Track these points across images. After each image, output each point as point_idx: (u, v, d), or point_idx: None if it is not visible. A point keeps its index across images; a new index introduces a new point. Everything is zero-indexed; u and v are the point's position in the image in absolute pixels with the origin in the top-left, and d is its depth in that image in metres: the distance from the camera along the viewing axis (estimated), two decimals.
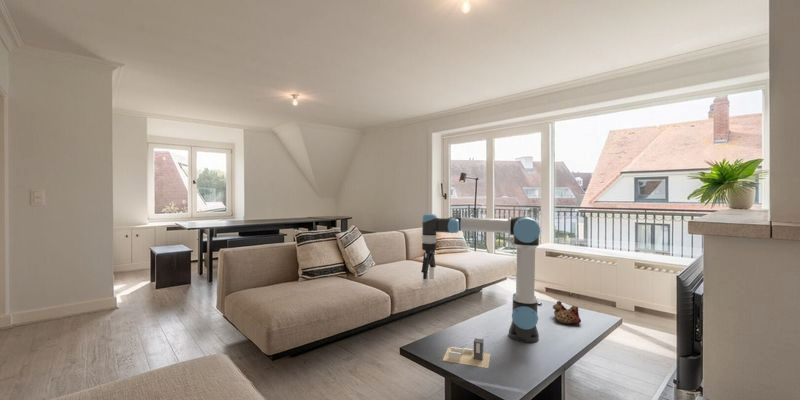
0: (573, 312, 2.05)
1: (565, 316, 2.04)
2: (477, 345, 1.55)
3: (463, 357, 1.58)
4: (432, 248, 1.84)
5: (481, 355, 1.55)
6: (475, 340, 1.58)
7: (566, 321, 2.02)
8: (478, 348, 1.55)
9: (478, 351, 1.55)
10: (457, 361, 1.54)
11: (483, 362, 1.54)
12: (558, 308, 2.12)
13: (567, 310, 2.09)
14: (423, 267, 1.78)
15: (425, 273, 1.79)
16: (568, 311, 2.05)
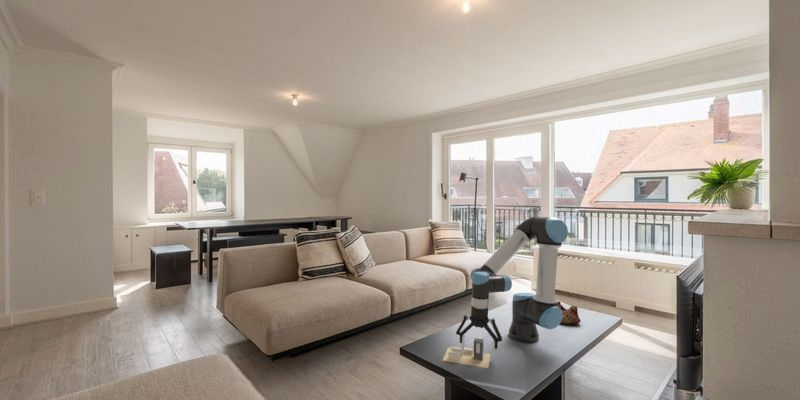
0: (572, 312, 2.05)
1: (565, 316, 2.04)
2: (477, 345, 1.55)
3: (463, 357, 1.58)
4: (472, 312, 1.56)
5: (481, 355, 1.55)
6: (475, 340, 1.58)
7: (566, 321, 2.02)
8: (478, 348, 1.55)
9: (478, 351, 1.55)
10: (457, 361, 1.54)
11: (483, 362, 1.54)
12: None
13: (566, 310, 2.09)
14: None
15: None
16: (568, 311, 2.05)
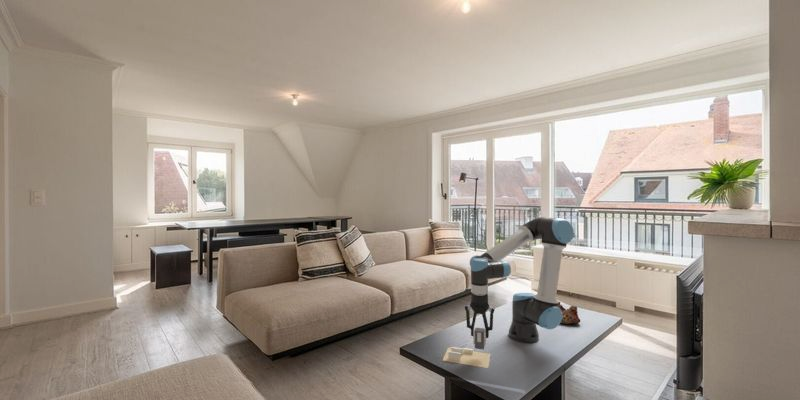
0: (572, 312, 2.05)
1: (565, 316, 2.04)
2: (478, 334, 1.55)
3: (463, 357, 1.58)
4: (472, 299, 1.56)
5: (482, 344, 1.55)
6: (476, 329, 1.58)
7: (566, 321, 2.02)
8: (479, 337, 1.55)
9: (479, 340, 1.55)
10: (457, 361, 1.54)
11: (483, 362, 1.54)
12: None
13: (566, 310, 2.09)
14: None
15: None
16: (567, 311, 2.05)
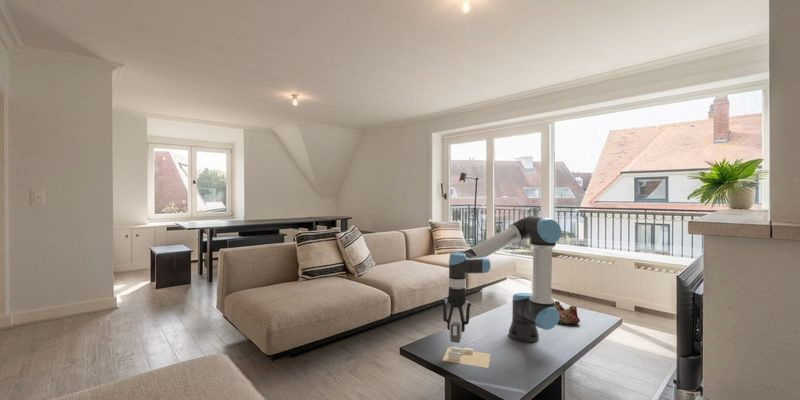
0: (572, 312, 2.05)
1: (564, 316, 2.04)
2: (454, 328, 1.56)
3: (463, 357, 1.58)
4: (449, 293, 1.57)
5: (458, 338, 1.56)
6: (452, 323, 1.59)
7: (566, 321, 2.02)
8: (455, 331, 1.56)
9: (455, 334, 1.56)
10: (457, 361, 1.54)
11: (483, 362, 1.54)
12: (556, 308, 2.11)
13: (566, 310, 2.08)
14: None
15: (447, 323, 1.60)
16: (567, 311, 2.05)
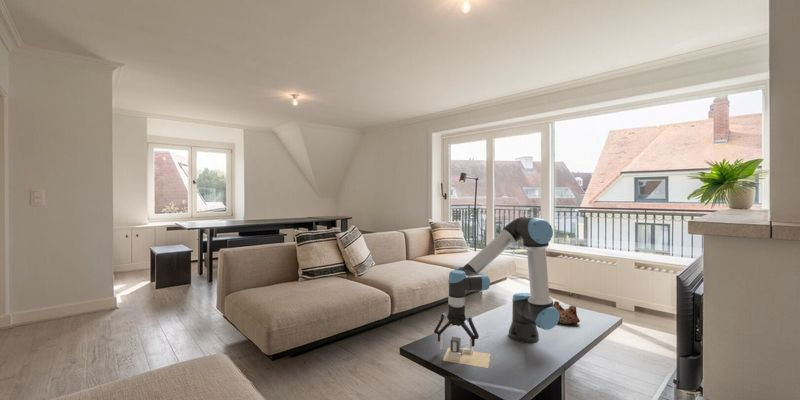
0: (572, 312, 2.05)
1: (564, 316, 2.03)
2: (454, 343, 1.56)
3: (463, 357, 1.58)
4: (449, 311, 1.57)
5: None
6: (452, 339, 1.59)
7: (566, 321, 2.01)
8: (455, 346, 1.56)
9: (455, 349, 1.56)
10: (457, 361, 1.54)
11: (483, 362, 1.54)
12: (556, 308, 2.11)
13: (565, 310, 2.08)
14: None
15: (438, 334, 1.61)
16: (567, 311, 2.05)
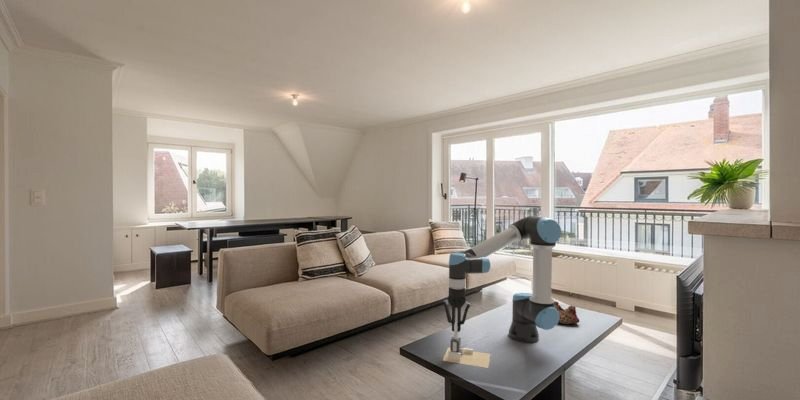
0: (571, 312, 2.05)
1: (564, 316, 2.03)
2: (454, 343, 1.56)
3: (463, 357, 1.58)
4: (449, 293, 1.57)
5: None
6: (452, 339, 1.59)
7: (566, 322, 2.01)
8: (455, 346, 1.56)
9: (455, 349, 1.56)
10: (457, 361, 1.54)
11: (483, 362, 1.54)
12: (556, 308, 2.11)
13: (565, 310, 2.08)
14: None
15: None
16: (567, 311, 2.05)
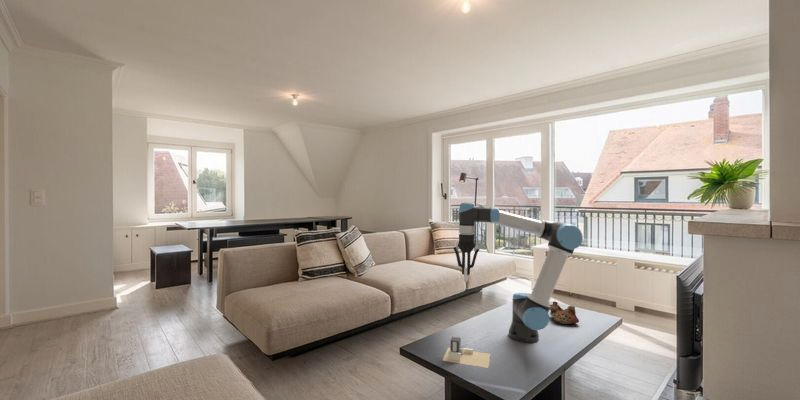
0: (571, 312, 2.05)
1: (564, 317, 2.03)
2: (454, 343, 1.56)
3: (463, 357, 1.58)
4: (460, 239, 1.70)
5: None
6: (452, 339, 1.59)
7: (565, 322, 2.01)
8: (455, 346, 1.56)
9: (455, 349, 1.56)
10: (457, 361, 1.54)
11: (483, 362, 1.54)
12: (555, 309, 2.10)
13: (564, 310, 2.08)
14: None
15: (462, 268, 1.72)
16: (566, 311, 2.04)
